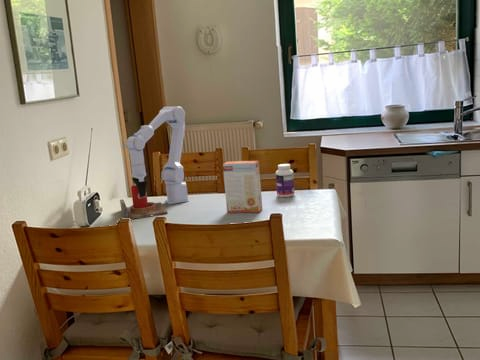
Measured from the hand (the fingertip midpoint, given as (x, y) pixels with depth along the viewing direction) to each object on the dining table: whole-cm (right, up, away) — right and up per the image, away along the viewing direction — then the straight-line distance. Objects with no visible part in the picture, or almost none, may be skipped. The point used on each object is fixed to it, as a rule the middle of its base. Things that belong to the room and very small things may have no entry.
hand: (141, 194), depth 221 cm
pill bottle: (+64, -1, +9) cm, 64 cm away
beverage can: (0, -7, +1) cm, 7 cm away
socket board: (+1, -8, +2) cm, 8 cm away
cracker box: (+45, -7, -10) cm, 46 cm away
